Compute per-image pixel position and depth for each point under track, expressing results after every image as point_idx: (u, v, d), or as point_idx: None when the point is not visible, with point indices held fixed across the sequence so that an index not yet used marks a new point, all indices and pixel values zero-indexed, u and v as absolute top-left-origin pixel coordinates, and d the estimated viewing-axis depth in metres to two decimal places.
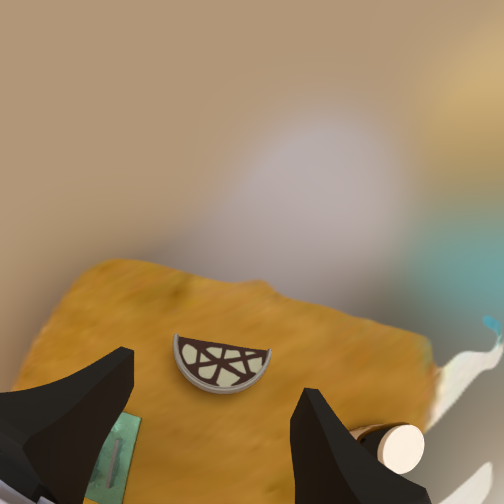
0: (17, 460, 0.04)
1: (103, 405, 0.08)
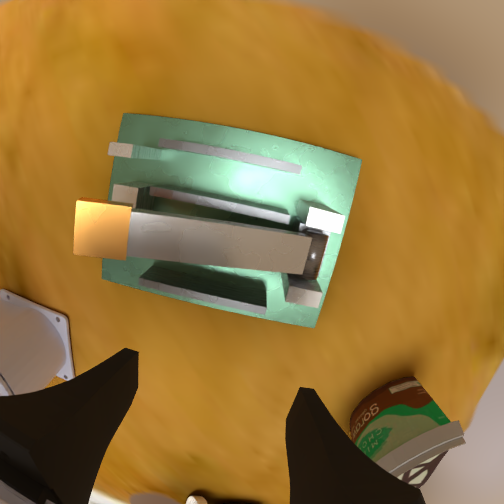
0: (23, 464, 0.04)
1: (108, 407, 0.08)
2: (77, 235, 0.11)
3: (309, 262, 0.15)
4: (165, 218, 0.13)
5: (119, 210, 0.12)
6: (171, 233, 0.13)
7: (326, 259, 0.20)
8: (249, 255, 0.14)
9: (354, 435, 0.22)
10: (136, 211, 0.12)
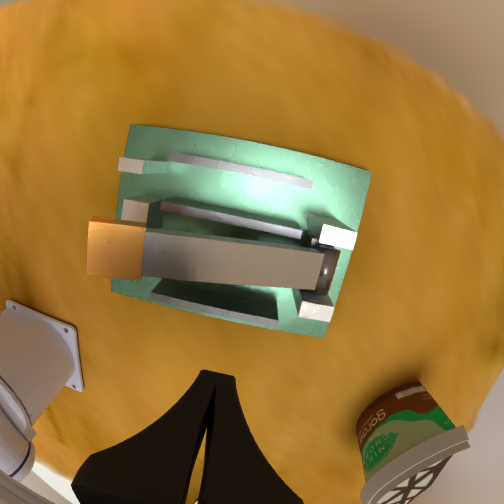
0: None
1: (200, 434, 0.09)
2: (90, 256, 0.12)
3: (321, 278, 0.15)
4: (180, 238, 0.13)
5: (133, 230, 0.12)
6: (186, 253, 0.13)
7: (335, 271, 0.20)
8: (263, 273, 0.14)
9: (361, 440, 0.22)
10: (150, 231, 0.12)
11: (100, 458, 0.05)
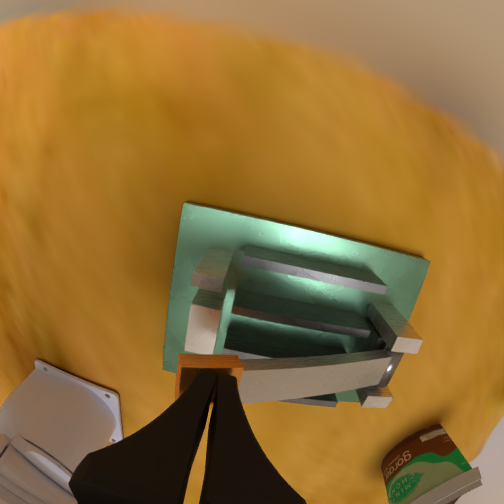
0: None
1: (198, 434, 0.09)
2: None
3: (385, 375, 0.15)
4: (275, 371, 0.12)
5: (230, 371, 0.11)
6: (279, 381, 0.12)
7: None
8: (341, 382, 0.14)
9: (387, 476, 0.22)
10: (246, 368, 0.12)
11: (97, 457, 0.05)
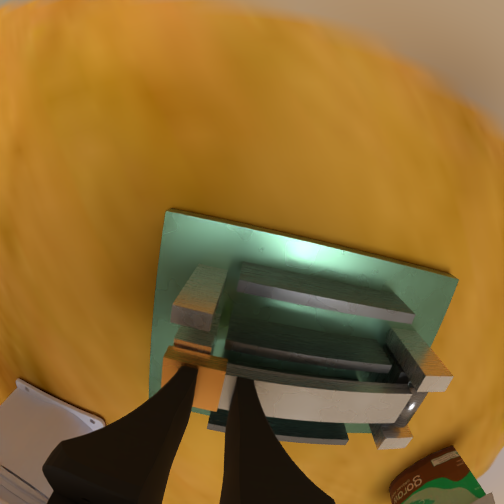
0: None
1: (177, 429, 0.09)
2: None
3: (403, 414, 0.12)
4: (262, 383, 0.11)
5: (211, 372, 0.11)
6: (268, 395, 0.11)
7: None
8: (345, 412, 0.12)
9: (395, 500, 0.18)
10: (231, 373, 0.11)
11: (69, 444, 0.05)
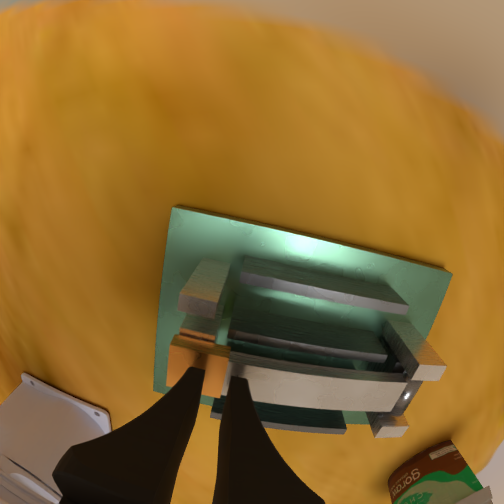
0: None
1: (185, 431, 0.09)
2: (170, 372, 0.12)
3: (399, 402, 0.12)
4: (264, 370, 0.12)
5: (215, 359, 0.12)
6: (268, 382, 0.12)
7: None
8: (343, 400, 0.12)
9: (394, 494, 0.19)
10: (234, 360, 0.12)
11: (79, 449, 0.05)
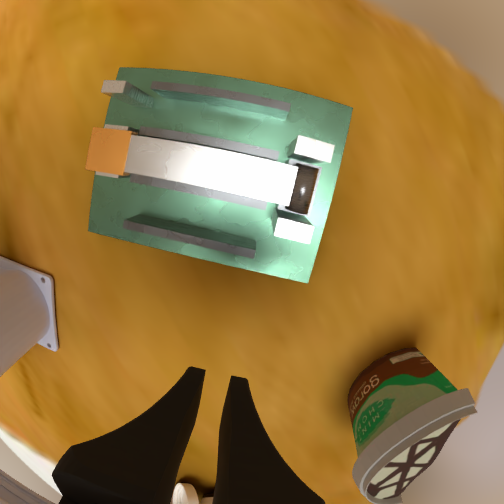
0: None
1: (185, 431, 0.09)
2: (90, 154, 0.14)
3: (295, 193, 0.15)
4: (157, 140, 0.14)
5: (122, 133, 0.14)
6: (161, 153, 0.14)
7: (318, 207, 0.19)
8: (230, 178, 0.15)
9: (353, 411, 0.21)
10: (136, 135, 0.14)
11: (79, 449, 0.05)
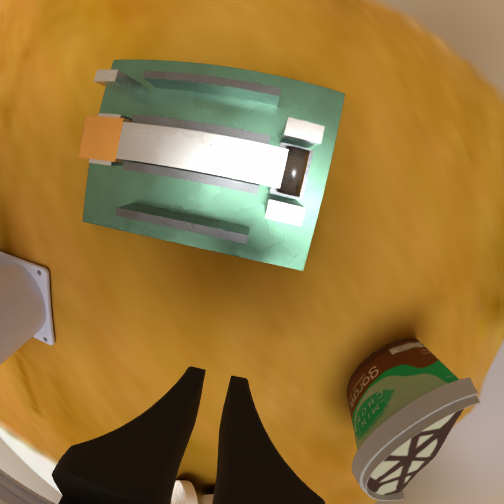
0: None
1: (185, 431, 0.09)
2: (83, 142, 0.14)
3: (286, 175, 0.14)
4: (148, 126, 0.14)
5: (114, 120, 0.14)
6: (152, 138, 0.14)
7: (312, 192, 0.18)
8: (220, 161, 0.14)
9: (352, 404, 0.21)
10: (128, 122, 0.14)
11: (79, 449, 0.05)
